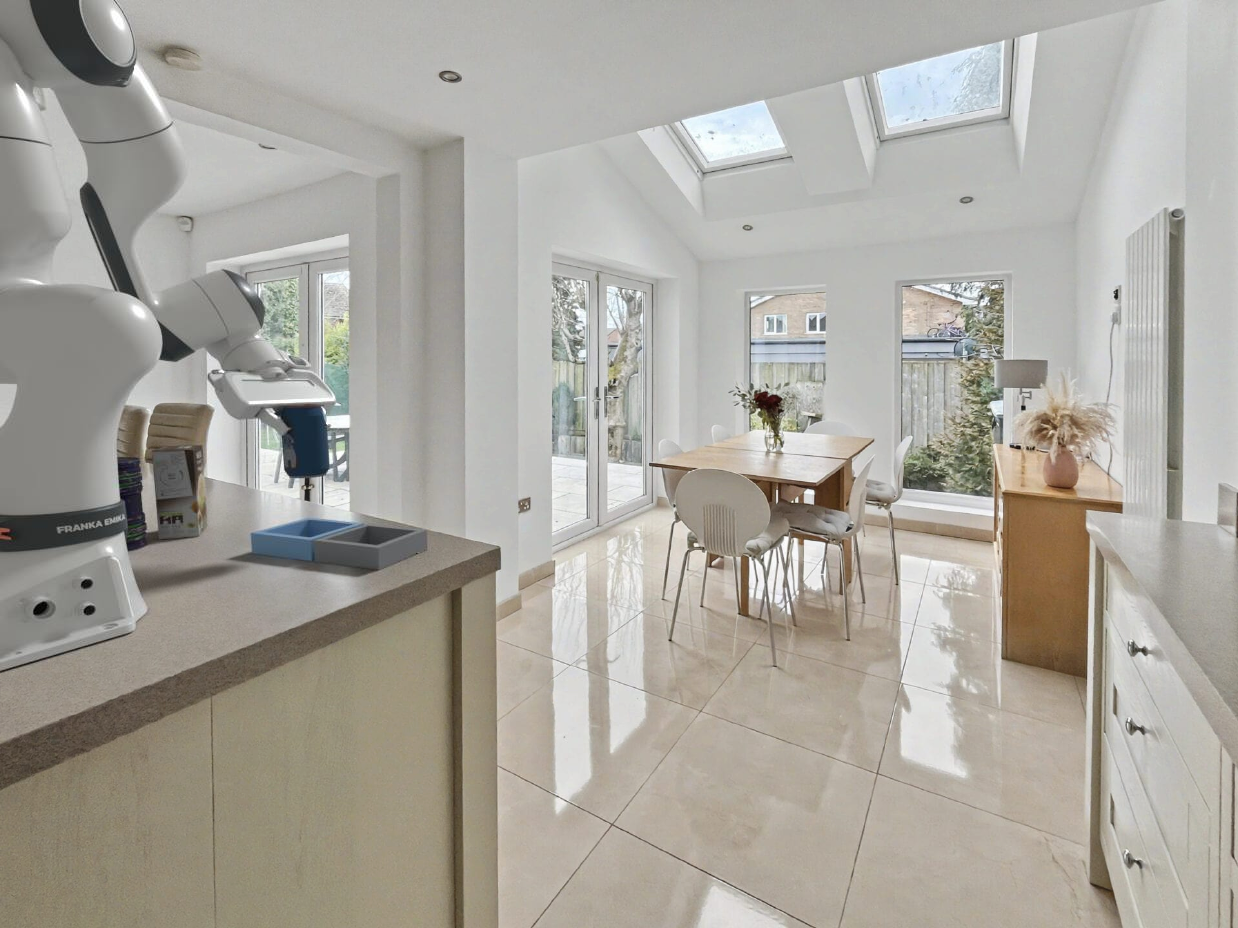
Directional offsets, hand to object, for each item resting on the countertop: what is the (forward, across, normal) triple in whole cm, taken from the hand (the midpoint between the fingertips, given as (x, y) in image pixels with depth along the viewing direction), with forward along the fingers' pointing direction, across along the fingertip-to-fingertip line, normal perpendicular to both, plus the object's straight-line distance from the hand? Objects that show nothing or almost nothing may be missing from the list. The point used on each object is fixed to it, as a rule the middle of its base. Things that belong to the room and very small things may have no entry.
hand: (307, 430), depth 105 cm
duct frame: (+19, 0, +10) cm, 21 cm away
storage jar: (-8, -12, +36) cm, 39 cm away
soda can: (+5, 0, +6) cm, 8 cm away
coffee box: (-7, 0, +36) cm, 36 cm away
